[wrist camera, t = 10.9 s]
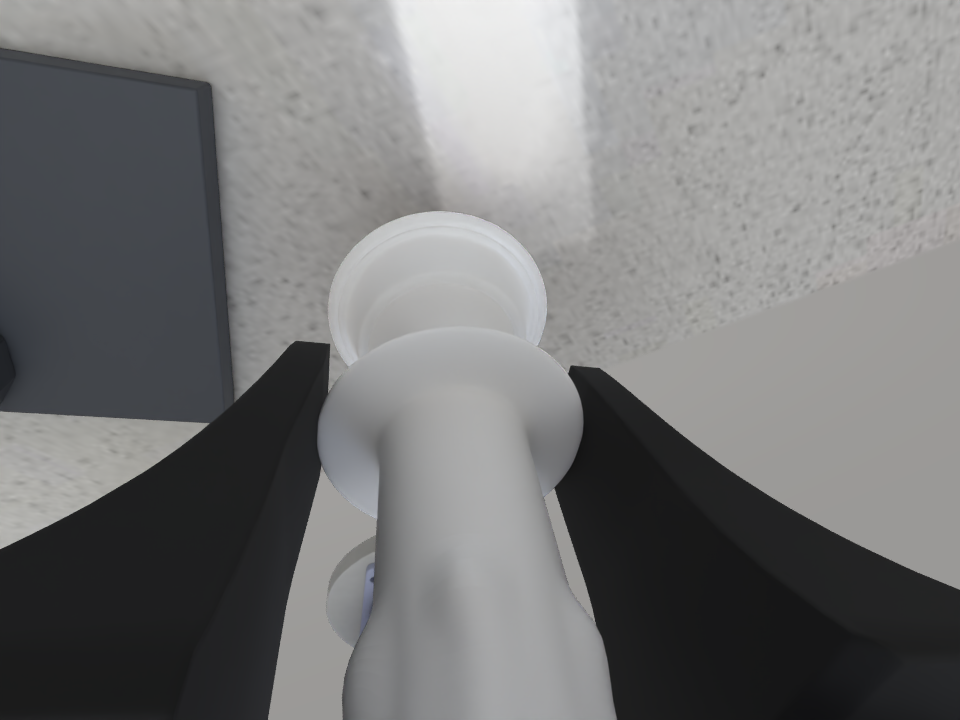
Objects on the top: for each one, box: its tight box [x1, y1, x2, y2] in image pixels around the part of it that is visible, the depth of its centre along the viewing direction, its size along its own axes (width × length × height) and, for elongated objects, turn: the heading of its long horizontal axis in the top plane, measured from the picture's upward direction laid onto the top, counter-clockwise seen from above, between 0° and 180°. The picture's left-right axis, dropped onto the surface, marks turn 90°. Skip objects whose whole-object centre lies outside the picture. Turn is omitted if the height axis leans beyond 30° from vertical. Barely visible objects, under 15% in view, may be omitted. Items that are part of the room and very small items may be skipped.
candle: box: [317, 211, 617, 720], centre depth 9 cm, size 5×5×12 cm
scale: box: [0, 48, 234, 423], centre depth 17 cm, size 12×12×3 cm
